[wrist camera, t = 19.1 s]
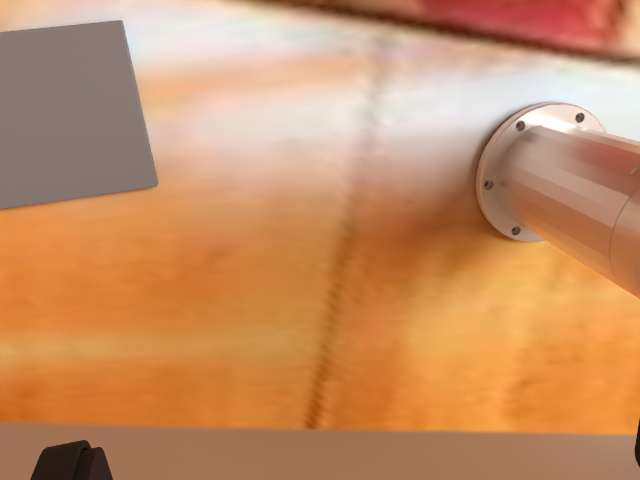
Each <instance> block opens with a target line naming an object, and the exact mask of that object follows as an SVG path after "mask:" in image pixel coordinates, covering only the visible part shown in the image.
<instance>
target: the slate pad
mask: <svg viewBox="0 0 640 480" xmlns="http://www.w3.org/2000/svg"><path fill="white" fill-rule="evenodd" d="M157 185H158V180H157V176H156V171H155V167H154V162H153V157H152V153H151V148H150V144H149V139H148V135H147V130H146V126H145V121H144V117H143V112H142V108H141V103H140V98H139V94H138V89H137V85H136V80H135V76H134V71H133V67H132V62H131V58H130V53H129V48H128V44H127V39H126V35H125V30H124V26H123V21H121V20H119V21H109V22H99V23H90V24H80V25H70V26H60V27H50V28H40V29H30V30H21V31H11V32H1V33H0V209H5V208H12V207H19V206H26V205H33V204H40V203H47V202H54V201H61V200H68V199H75V198H82V197H89V196H96V195H103V194H109V193H116V192H123V191H130V190H137V189H144V188H151V187H157Z"/></svg>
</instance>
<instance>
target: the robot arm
mask: <svg viewBox="0 0 640 480" xmlns="http://www.w3.org/2000/svg"><path fill="white" fill-rule="evenodd" d="M516 124H517V126H516ZM485 182H486V184H485ZM484 184H485V185H484ZM476 194H477V200H478V203H479V206H480V209H481V211H482V213H483V215H484V216H485V218H486V219H487V221H488V222H489V223H490V224H491V225H492V226H493V227H494V228H495V229H497V230H498V231H500V232H501V233H502V234H504V235H506V236H508V237H510V238H512V239H515V240H519V241H523V242H540V241H545V240H546V241H548V242H549V243H551V244H553V245H554V246H556V247H557V248H559V249H561V250H562V251H564V252H565V253H567V254H569V255H570V256H572V257H573V258H575V259H577V260H578V261H580V262H581V263H583V264H585V265H586V266H588V267H589V268H591V269H593V270H594V271H596V272H597V273H599V274H601V275H602V276H604V277H605V278H607V279H609V280H610V281H612V282H613V283H615V284H617V285H618V286H620V287H621V288H623V289H625V290H626V291H628V292H630V293H631V294H633V295H635V296H636V297H638V298H640V142H638V141H634V140H630V139H627V138H623V137H619V136H615V135H611V134H607V133H606V132H605V130H604V128H603V126H602V125H601V124H600V122H599V121H598V120H597V118H596V117H595V116H593V115H592V114H591V113H590V112H588V111H587V110H585V109H583V108H581V107H578V106H576V105H572V104H568V103H562V102H546V103H539V104H536V105H533V106H530V107H527V108H525V109H523V110H522V111H520V112H518V113H516V114H514V115H513V116H512V117H511V118H509V119H508V120H507V121H506V122H504V123H503V124H502V125H501V126H500V128H499V129H498V130H497V131H496V132H495V133H494V134H493V136H492V137H491V139H490V140H489V142H488V144H487V145H486V147H485V149H484V151H483V153H482V156H481V158H480V161H479V165H478V169H477V173H476ZM635 457H636V461H637V463H638V465H639V467H640V420H639V426H638V432H637V439H636V445H635ZM30 480H113V478H112V475H111V472H110V469H109V466H108V462H107V460H106V456H105V453H104V451H103V449H102V448H101V447H97V448H92V449H91V447H90V445H89V443H88V442H87V441H86V440H82V441H76V442H71V443H67V444H62V445H57V446H52V447H47V448H45V449H44V450H43V451H42V453H41V455H40V457H39V460H38V462H37V465H36V467H35V470H34V472H33V474H32V477H31V479H30Z"/></svg>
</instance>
